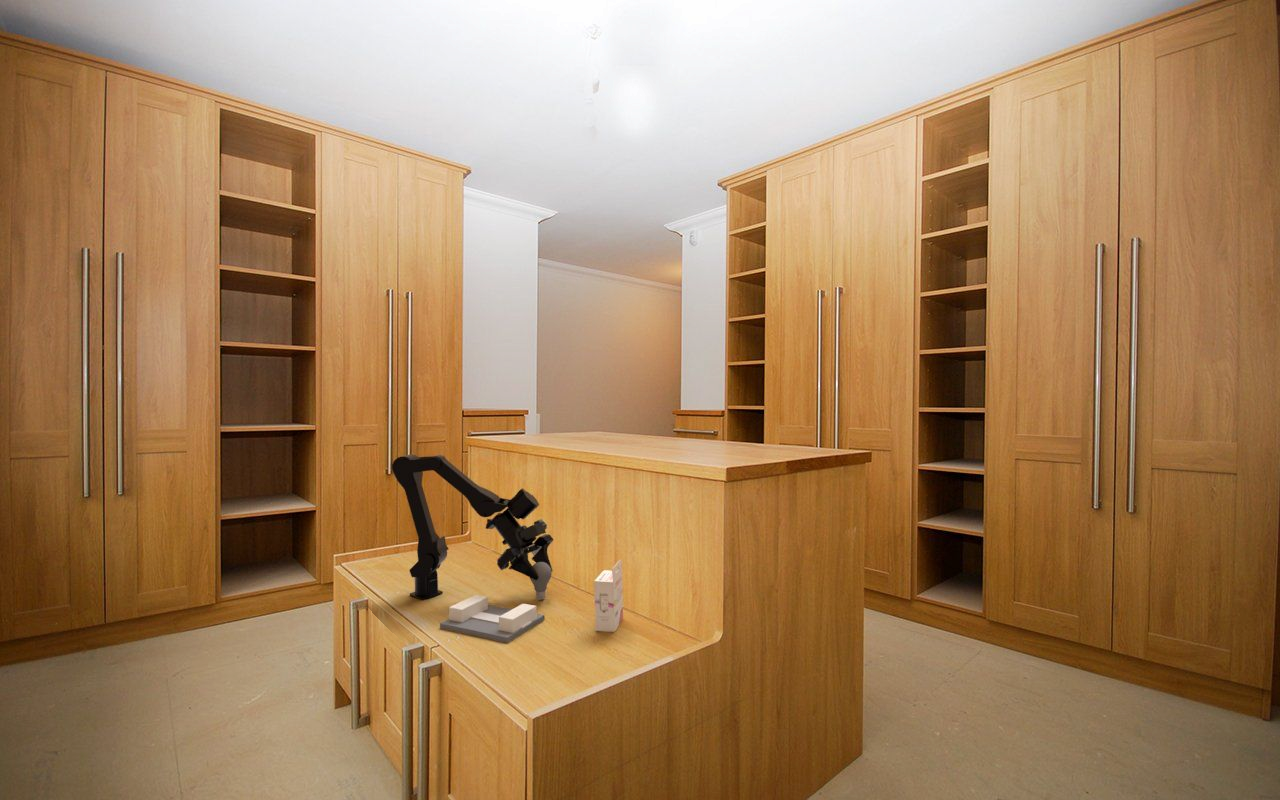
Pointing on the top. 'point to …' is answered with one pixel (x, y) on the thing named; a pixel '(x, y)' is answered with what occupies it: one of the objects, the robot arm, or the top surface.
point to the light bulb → (541, 579)
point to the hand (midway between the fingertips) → (544, 575)
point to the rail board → (491, 619)
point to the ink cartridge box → (609, 599)
